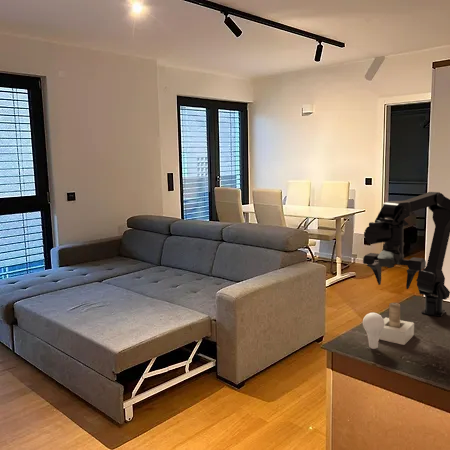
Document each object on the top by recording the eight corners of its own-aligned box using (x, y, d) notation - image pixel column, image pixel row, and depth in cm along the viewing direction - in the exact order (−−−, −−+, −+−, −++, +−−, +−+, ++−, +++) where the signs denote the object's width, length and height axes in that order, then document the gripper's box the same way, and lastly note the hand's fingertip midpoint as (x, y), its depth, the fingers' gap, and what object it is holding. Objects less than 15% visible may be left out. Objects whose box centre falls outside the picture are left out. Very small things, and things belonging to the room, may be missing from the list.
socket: (385, 329, 148) (385, 317, 147) (413, 335, 142) (414, 322, 142) (374, 338, 141) (374, 326, 141) (404, 344, 135) (404, 332, 135)
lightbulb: (385, 353, 130) (386, 317, 129) (363, 352, 132) (363, 316, 130) (382, 344, 136) (383, 309, 134) (361, 344, 137) (361, 309, 136)
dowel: (391, 332, 144) (391, 302, 142) (401, 334, 142) (401, 303, 140) (387, 335, 141) (387, 304, 140) (397, 337, 139) (398, 306, 138)
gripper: (356, 242, 147) (356, 288, 150) (415, 247, 135) (414, 297, 138) (369, 236, 156) (369, 280, 158) (426, 241, 144) (425, 288, 146)
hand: (393, 286), depth 150 cm, fingers open, 9 cm apart
